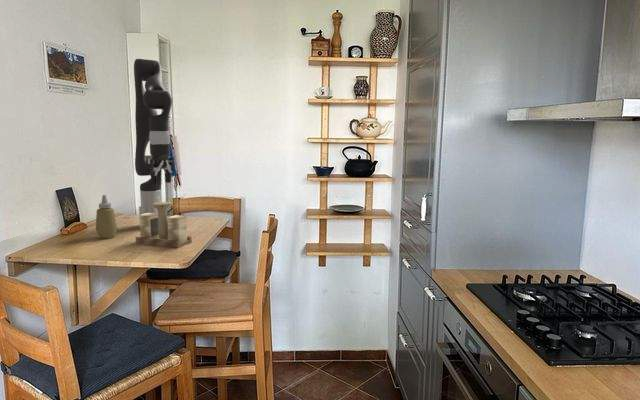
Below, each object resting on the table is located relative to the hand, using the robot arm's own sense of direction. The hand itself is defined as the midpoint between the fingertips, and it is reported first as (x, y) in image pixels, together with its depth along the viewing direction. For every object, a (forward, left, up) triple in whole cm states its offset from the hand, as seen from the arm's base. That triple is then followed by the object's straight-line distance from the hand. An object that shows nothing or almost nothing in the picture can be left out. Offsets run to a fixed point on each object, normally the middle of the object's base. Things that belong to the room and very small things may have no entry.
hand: (161, 183), depth 174 cm
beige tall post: (0, 0, -23) cm, 23 cm away
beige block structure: (0, 0, -24) cm, 24 cm away
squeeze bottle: (-27, -1, -24) cm, 37 cm away
